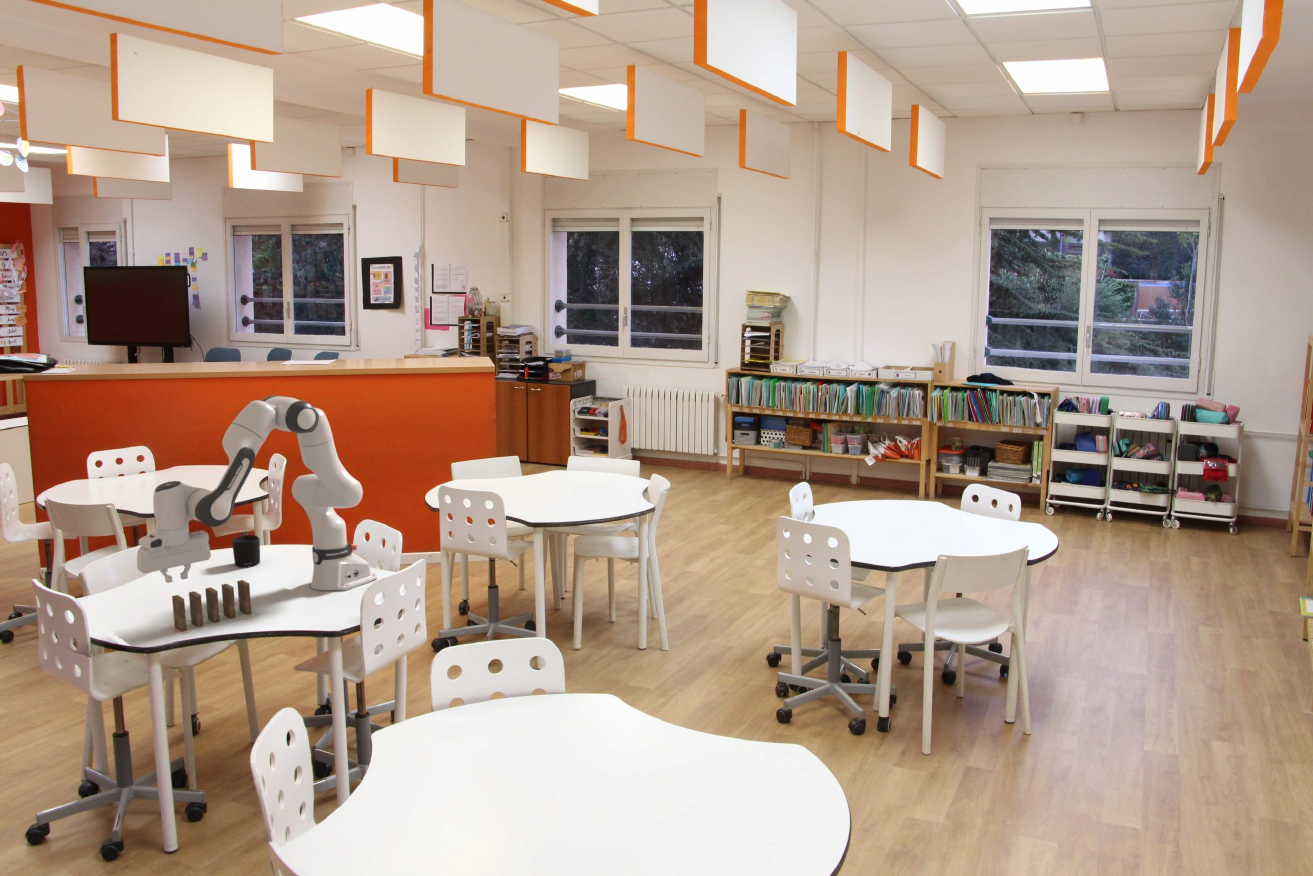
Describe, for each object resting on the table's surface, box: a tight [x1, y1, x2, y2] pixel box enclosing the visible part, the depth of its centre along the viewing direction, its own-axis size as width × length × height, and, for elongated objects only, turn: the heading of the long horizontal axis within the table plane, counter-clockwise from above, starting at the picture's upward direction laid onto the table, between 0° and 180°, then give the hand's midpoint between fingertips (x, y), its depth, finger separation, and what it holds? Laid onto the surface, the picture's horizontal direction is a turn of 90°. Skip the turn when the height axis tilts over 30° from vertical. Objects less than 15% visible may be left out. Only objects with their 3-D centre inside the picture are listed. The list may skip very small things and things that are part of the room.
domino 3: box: [221, 583, 236, 619], centre depth 304 cm, size 2×5×10 cm, turn 47°
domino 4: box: [236, 579, 252, 615], centre depth 307 cm, size 2×5×10 cm, turn 47°
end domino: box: [171, 594, 187, 632], centre depth 293 cm, size 2×5×10 cm, turn 47°
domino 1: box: [188, 590, 204, 627], centre depth 297 cm, size 2×5×10 cm, turn 47°
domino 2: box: [204, 587, 220, 623], centre depth 300 cm, size 2×5×10 cm, turn 47°
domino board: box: [169, 608, 260, 635], centre depth 302 cm, size 24×9×1 cm, turn 137°
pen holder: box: [231, 534, 261, 568], centre depth 360 cm, size 9×9×10 cm
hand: (176, 580), depth 291 cm, fingers open, 3 cm apart
